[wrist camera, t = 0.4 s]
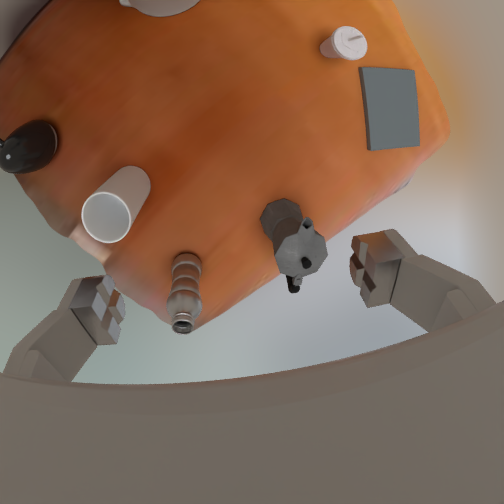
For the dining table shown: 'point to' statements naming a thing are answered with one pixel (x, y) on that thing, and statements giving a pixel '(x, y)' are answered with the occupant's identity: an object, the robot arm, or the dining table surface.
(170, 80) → the dining table surface
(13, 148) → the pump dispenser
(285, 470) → the robot arm
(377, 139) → the slate board
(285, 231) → the coffeepot
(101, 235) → the cup
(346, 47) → the smoothie
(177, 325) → the plastic bottle
